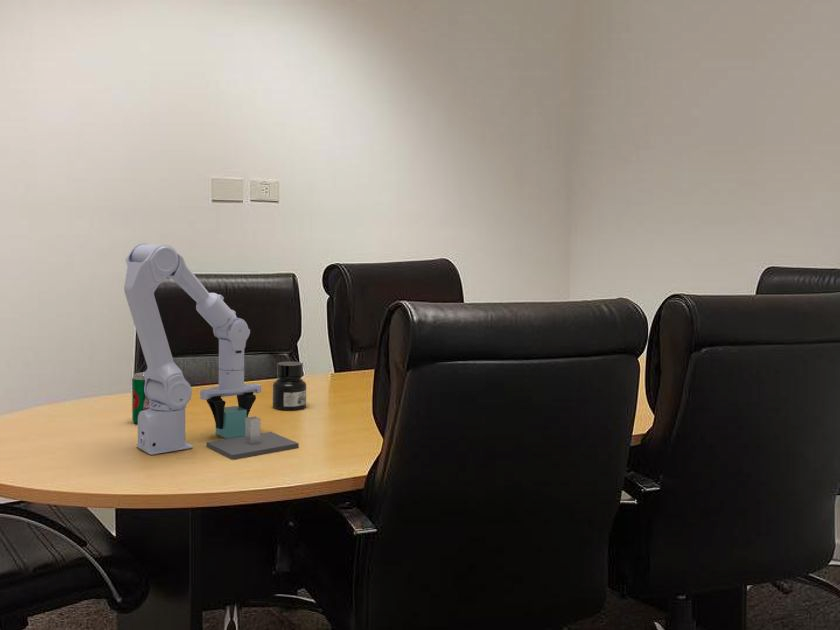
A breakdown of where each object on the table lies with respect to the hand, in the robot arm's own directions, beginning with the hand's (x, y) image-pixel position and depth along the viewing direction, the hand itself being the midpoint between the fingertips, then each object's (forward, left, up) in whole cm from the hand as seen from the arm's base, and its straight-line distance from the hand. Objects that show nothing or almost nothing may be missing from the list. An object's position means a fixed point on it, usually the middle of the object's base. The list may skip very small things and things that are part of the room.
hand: (231, 426), depth 181 cm
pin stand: (-1, -12, -2) cm, 12 cm away
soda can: (-12, +22, -2) cm, 25 cm away
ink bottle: (+26, +17, -2) cm, 31 cm away
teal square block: (0, 0, -2) cm, 2 cm away
